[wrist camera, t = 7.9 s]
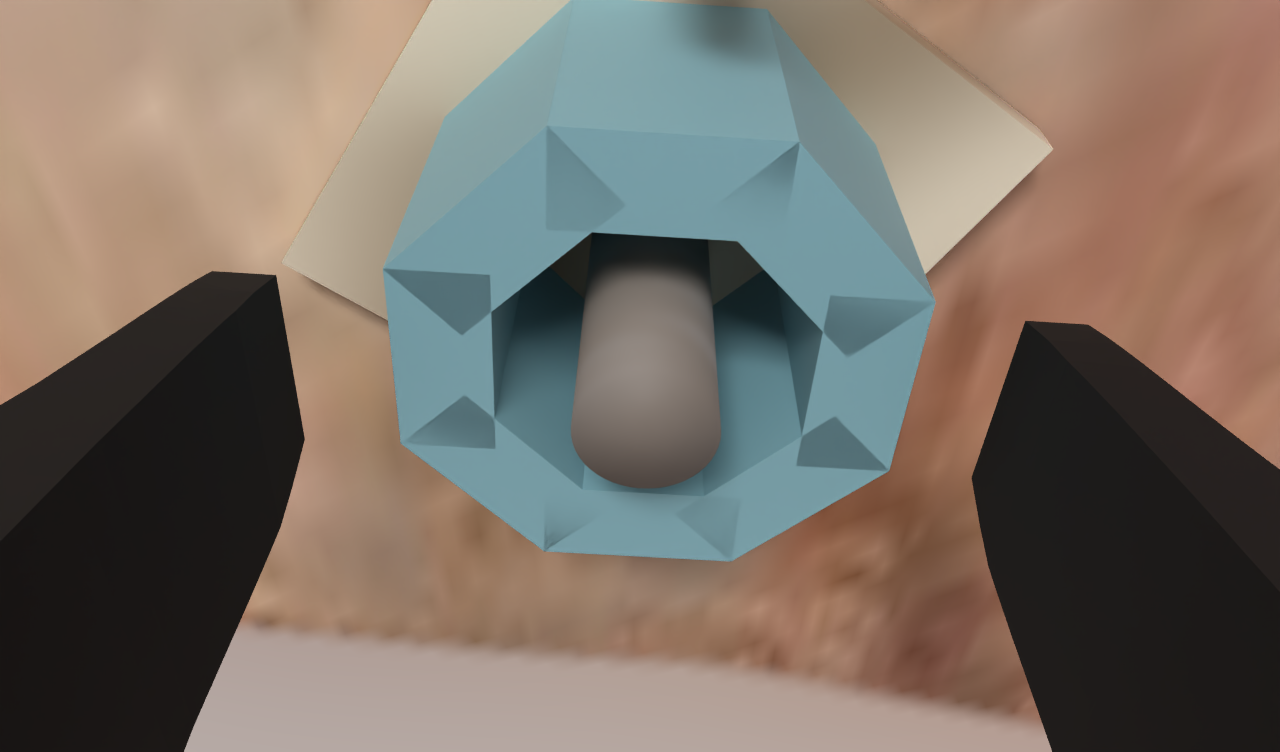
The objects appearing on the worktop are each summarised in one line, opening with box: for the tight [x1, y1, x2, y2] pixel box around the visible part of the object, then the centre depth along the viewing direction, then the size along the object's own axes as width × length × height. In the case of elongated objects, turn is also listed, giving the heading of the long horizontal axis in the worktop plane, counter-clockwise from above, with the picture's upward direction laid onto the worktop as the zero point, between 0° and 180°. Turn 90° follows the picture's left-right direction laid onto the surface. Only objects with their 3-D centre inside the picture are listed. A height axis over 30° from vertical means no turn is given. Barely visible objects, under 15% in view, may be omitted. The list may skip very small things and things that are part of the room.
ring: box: [383, 0, 935, 561], centre depth 12 cm, size 5×5×4 cm
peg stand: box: [282, 0, 1053, 489], centre depth 12 cm, size 7×7×5 cm
